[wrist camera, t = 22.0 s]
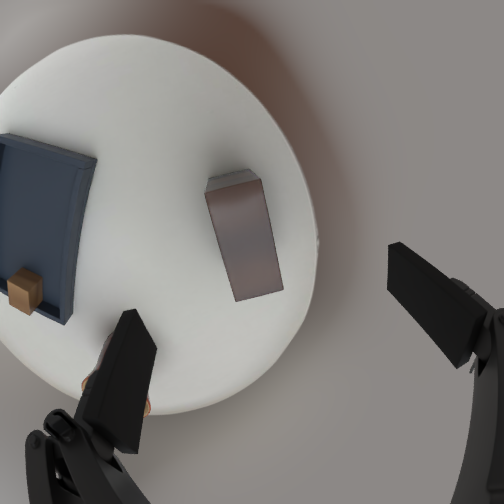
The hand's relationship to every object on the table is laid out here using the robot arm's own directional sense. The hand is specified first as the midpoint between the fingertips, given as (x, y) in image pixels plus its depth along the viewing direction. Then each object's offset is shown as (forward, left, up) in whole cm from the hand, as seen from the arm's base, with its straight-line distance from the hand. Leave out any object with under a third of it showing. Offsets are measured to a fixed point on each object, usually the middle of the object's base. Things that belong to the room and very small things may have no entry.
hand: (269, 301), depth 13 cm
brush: (+1, 0, -18) cm, 18 cm away
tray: (+11, -25, -18) cm, 32 cm away
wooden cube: (+19, -24, -17) cm, 35 cm away
